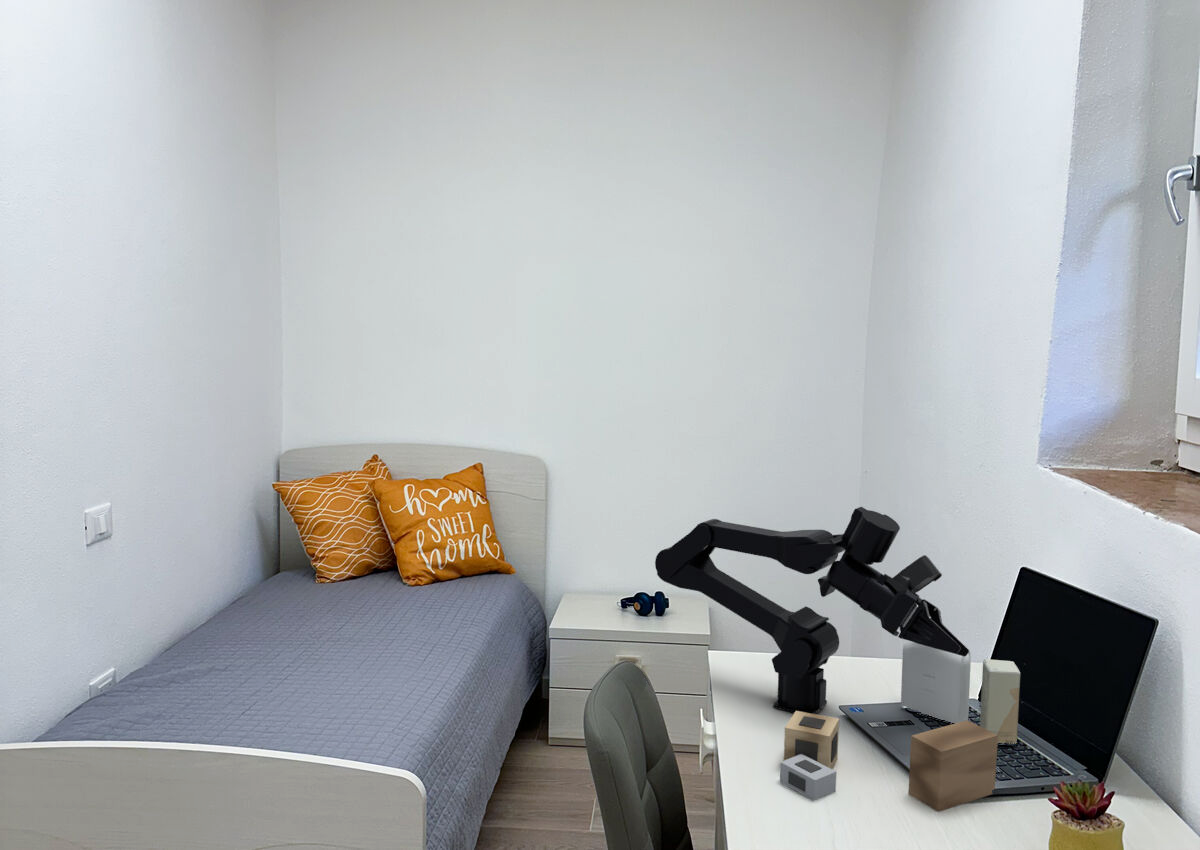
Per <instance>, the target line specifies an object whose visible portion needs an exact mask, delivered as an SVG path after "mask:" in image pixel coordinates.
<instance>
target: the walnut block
mask: <svg viewBox="0 0 1200 850" xmlns="http://www.w3.org/2000/svg"><path fill="white" fill-rule="evenodd" d="M997 744H998V735H997V734H994V733H992V732H990V731H988V730H986V729H984V728H982V727H980V725H978V724H976V723H974V722H971V721H969V719H968V720H966V721H963V722H959V723H955V724H952V723H951V724H949V725H945V726H941V727H938V728H935V729H930V730H926V731H924V732H923V731H922V732H919V733H916V734H912V735H911V737H910V751H909V752H910V754H909V755H910V756H909V775H908V793H907V794H908V796H909V795H910V796H911V797H913V798H914V799H916V800H918V801H919V802H921V803H923V804H924V805H926V806H928V807H929V808H931V809H932V810H934V811H936V812H937V813H939V812H943V811H945V810H946V811H947V810H948V809H951V808H955V807H957V806H962V805H963V804H966V803H969V802H973V801H976V800H980V799H982V798H984V797H988V796H992V795H994V794H993V793H992V790H994V789H996V775H997V774H996V773H997V772H996V771H997V759H998V758H997V755H998V745H997Z"/></svg>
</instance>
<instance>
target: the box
mask: <svg viewBox="0 0 1200 850" xmlns="http://www.w3.org/2000/svg"><path fill="white" fill-rule="evenodd" d="M981 674H982V678H981V696H980V722H979V726H980V727H982V728H984V729H986V730H988V731H990V732H992V733H994V734H997V735H998V743H1009V744H1010V743H1011V744H1014V743H1015V744H1016V743H1017V740H1018V727H1019V726H1018V725H1019V724H1018V723H1019V708H1020V707H1019V706H1020V703H1019V702H1020V687H1021V685H1020V684H1021V672H1020V669H1019V668H1018V666H1017V665H1016V664H1015V662H1014V661H1011V660H1002V659H1001V660H999V659H989V658H988V659H987V658H986V659H982V673H981Z"/></svg>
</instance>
